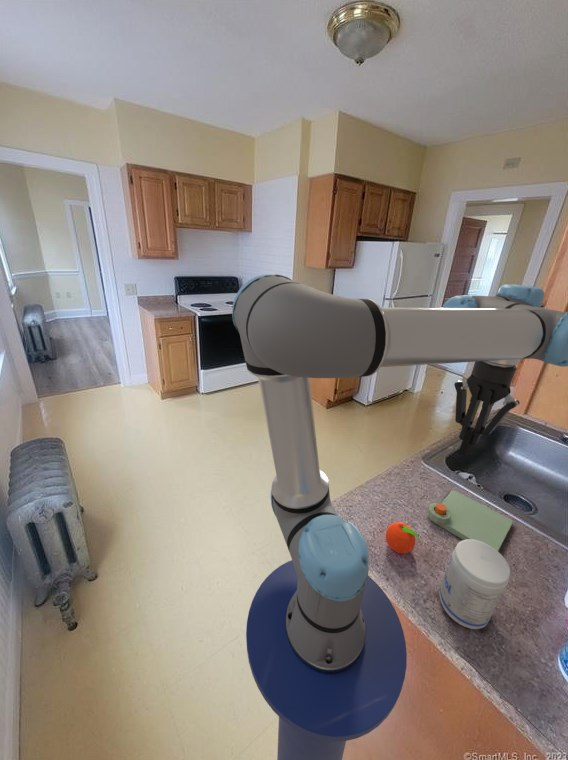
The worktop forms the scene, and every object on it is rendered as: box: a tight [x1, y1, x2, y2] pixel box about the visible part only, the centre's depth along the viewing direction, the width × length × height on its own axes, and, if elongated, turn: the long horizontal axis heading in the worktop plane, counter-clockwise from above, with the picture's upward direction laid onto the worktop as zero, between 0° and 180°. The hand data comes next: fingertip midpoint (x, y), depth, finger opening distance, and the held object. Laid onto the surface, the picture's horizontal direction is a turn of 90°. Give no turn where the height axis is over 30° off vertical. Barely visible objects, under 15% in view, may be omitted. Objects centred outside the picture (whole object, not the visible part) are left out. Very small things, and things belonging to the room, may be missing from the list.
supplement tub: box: [438, 539, 511, 630], centre depth 65 cm, size 10×10×15 cm
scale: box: [427, 489, 514, 552], centre depth 87 cm, size 17×16×4 cm
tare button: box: [435, 502, 447, 515], centre depth 87 cm, size 3×3×2 cm
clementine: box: [385, 521, 421, 554], centre depth 79 cm, size 8×7×7 cm
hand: (463, 452), depth 77 cm, fingers closed
